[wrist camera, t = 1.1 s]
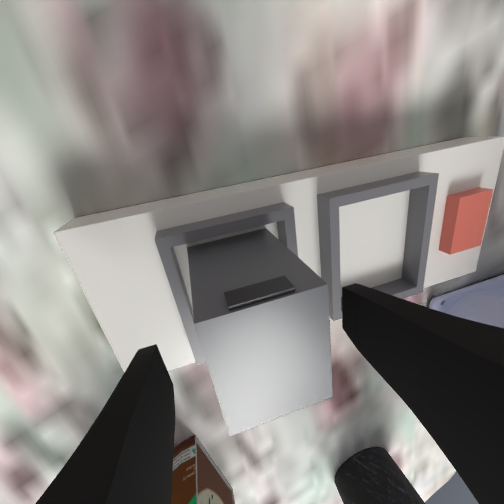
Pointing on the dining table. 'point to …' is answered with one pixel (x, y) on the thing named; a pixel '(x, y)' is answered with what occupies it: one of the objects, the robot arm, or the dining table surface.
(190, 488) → the food container
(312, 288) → the block
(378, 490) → the travel mug
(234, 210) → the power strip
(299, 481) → the dining table surface
